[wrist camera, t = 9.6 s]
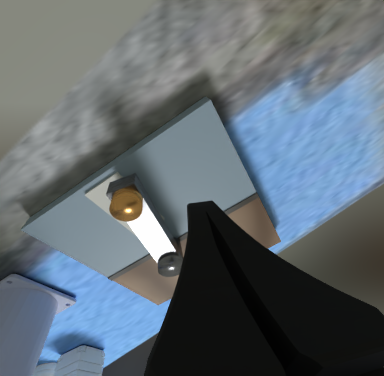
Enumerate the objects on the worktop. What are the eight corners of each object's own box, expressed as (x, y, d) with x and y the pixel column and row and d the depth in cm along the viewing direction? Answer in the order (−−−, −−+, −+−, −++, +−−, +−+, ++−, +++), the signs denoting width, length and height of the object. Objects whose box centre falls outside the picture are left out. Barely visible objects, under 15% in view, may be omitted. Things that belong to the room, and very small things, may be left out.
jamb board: (157, 293, 27) (158, 305, 26) (110, 265, 22) (107, 278, 21) (274, 232, 24) (281, 242, 23) (249, 184, 19) (257, 193, 18)
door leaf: (110, 265, 22) (107, 279, 21) (29, 217, 17) (19, 231, 16) (249, 184, 19) (257, 193, 18) (205, 96, 14) (211, 100, 13)
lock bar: (184, 247, 20) (189, 276, 17) (162, 255, 20) (164, 285, 18) (138, 166, 14) (136, 191, 12) (108, 178, 14) (99, 205, 12)
